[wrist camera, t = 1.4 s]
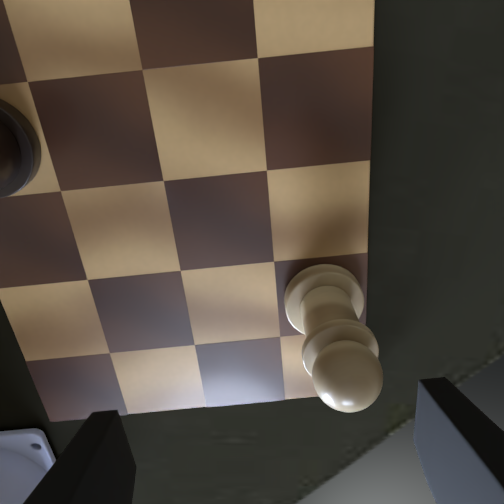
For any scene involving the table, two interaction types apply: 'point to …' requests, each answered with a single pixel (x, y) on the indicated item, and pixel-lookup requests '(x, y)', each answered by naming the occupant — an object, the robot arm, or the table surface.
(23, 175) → the rook
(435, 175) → the table surface
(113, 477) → the robot arm
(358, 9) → the chessboard
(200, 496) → the table surface
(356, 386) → the pawn
